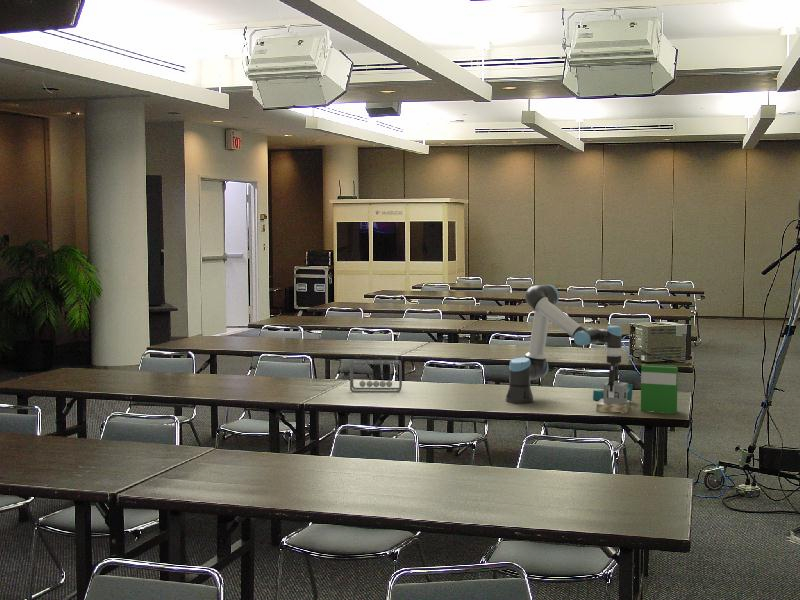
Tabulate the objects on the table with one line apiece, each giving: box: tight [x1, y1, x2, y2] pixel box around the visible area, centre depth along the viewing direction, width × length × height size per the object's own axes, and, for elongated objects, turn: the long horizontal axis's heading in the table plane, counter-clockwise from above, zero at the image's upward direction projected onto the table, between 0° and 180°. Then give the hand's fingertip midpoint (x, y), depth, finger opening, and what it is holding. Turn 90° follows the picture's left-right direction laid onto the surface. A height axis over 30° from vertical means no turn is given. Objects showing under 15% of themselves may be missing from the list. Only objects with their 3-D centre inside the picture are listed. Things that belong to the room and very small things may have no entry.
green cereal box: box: [640, 363, 679, 414], centre depth 488 cm, size 18×7×24 cm, turn 68°
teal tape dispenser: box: [592, 383, 634, 402], centre depth 516 cm, size 18×11×10 cm, turn 40°
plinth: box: [595, 399, 631, 414], centre depth 493 cm, size 15×15×4 cm
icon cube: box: [603, 381, 629, 405], centre depth 492 cm, size 10×10×10 cm
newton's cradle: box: [349, 359, 403, 393], centre depth 549 cm, size 30×10×18 cm, turn 88°
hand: (613, 395), depth 493 cm, fingers open, 13 cm apart
